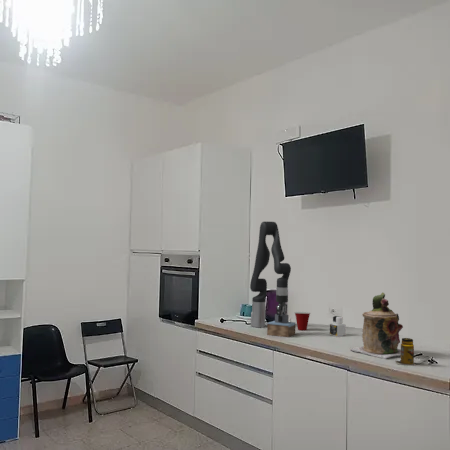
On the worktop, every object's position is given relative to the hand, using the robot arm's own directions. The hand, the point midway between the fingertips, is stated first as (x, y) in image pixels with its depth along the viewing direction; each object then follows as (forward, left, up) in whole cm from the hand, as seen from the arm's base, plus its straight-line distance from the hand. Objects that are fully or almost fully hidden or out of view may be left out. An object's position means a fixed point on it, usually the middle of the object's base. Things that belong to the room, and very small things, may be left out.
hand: (281, 321), depth 316 cm
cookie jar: (+65, -21, -9) cm, 69 cm away
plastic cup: (+5, +26, -9) cm, 28 cm away
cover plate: (0, 0, -2) cm, 2 cm away
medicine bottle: (+31, +19, -9) cm, 37 cm away
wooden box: (0, 0, -8) cm, 8 cm away
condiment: (+80, -41, -9) cm, 90 cm away
